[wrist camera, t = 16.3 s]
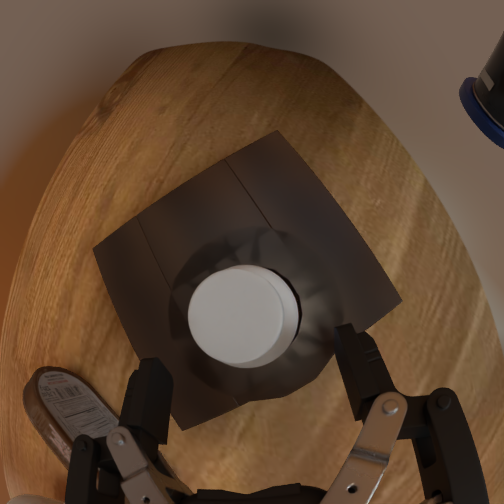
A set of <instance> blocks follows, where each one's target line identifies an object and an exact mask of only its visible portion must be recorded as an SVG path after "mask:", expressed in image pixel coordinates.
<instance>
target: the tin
mask: <svg viewBox="0 0 504 504" xmlns="http://www.w3.org/2000/svg"><path fill="white" fill-rule="evenodd" d="M23 404H24V408H25V411H26V413H27V415H28V417H29V419H30V421H31V422H32V424H33V425H34V427H35V428H36V430H37V431H38V433H39V434H40V435H41V437H42V438H43V440H44V441H45V442H46V444H47V445H48V446H49V448H50V449H51V450H52V451H53V453H54V454H55V455H56V456H57V458H58V459H59V460H60V461H61V463H62V464H63V465H64V466H65V467H66V469H67V470H69V463H70V457H71V451H72V446H73V442H74V440H75V438H76V437H77V436H79V435H81V434H86V435H88V436H90V437H91V438H93V439H94V438H98V437H103V436H107V435H108V433H109V431H110V430H111V429H113V428H114V427H117V426H118V424H119V420H120V418H119V417H118V416H117V415H116V414H115V413H114V412H113V411H112V409H111V408H110V407H109V406H108V405H107V404H106V403H105V401H104V400H103V399H102V398H101V397H100V395H99V394H98V393H97V392H96V391H95V390H94V389H93V388H92V387H91V386H90V385H89V384H88V383H87V382H86V381H85V380H83V379H82V378H81V377H79V376H78V375H76V374H75V373H73V372H71V371H69V370H67V369H64V368H61V367H53V366H45V367H41V368H38V369H37V370H36V371H35V372H34V374H33V375H32V377H31V379H30V380H29V382H28V383H27V384H26V385H25V387H24V390H23ZM99 471H100V468H98V472H97V482H96V488H97V490H98V481H99ZM125 504H131V503H130V502H129V500H128V498H127V496H126V495H125Z"/></svg>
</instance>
